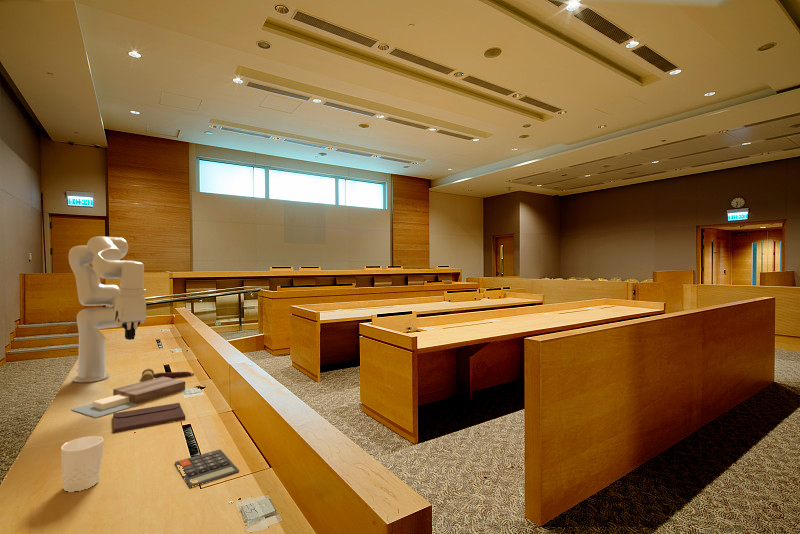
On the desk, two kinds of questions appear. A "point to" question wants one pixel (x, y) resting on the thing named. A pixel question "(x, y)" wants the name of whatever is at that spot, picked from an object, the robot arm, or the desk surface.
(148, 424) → the notebook
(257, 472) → the desk surface
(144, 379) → the gavel
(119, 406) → the mat
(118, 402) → the cream flat block
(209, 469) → the calculator
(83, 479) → the white cup
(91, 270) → the robot arm
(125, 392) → the brown wooden board
